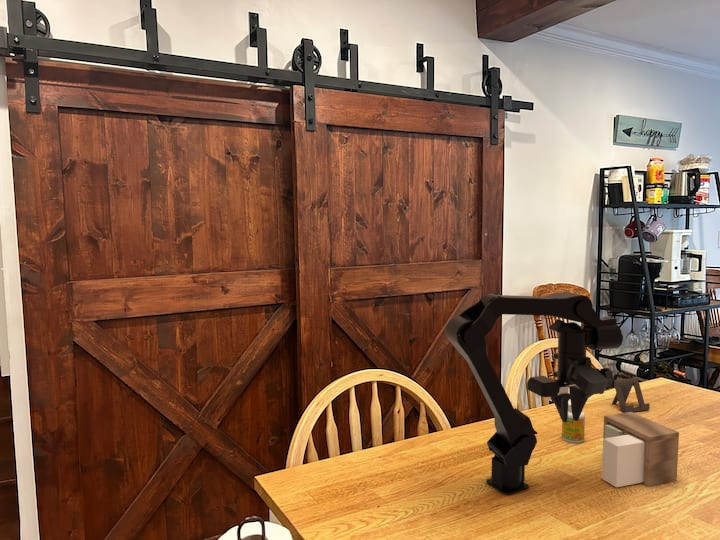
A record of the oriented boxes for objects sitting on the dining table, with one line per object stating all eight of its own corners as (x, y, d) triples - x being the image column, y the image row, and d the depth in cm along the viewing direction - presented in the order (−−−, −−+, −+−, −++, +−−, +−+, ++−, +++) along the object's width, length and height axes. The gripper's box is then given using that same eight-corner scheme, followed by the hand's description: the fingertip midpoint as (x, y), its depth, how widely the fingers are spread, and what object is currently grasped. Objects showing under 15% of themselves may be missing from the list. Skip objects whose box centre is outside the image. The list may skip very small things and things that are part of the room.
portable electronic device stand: (624, 414, 154) (625, 386, 154) (605, 405, 162) (606, 378, 161) (649, 411, 157) (650, 383, 156) (629, 402, 164) (631, 376, 163)
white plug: (616, 487, 111) (617, 446, 111) (601, 478, 115) (603, 438, 115) (660, 478, 115) (662, 438, 114) (644, 470, 119) (646, 431, 118)
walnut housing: (644, 487, 112) (646, 437, 111) (599, 461, 124) (600, 416, 123) (676, 480, 115) (679, 432, 114) (629, 455, 127) (631, 411, 126)
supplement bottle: (560, 441, 136) (561, 404, 135) (563, 433, 140) (564, 398, 140) (583, 445, 133) (584, 407, 132) (585, 437, 138) (586, 401, 137)
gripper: (560, 364, 103) (558, 441, 105) (636, 356, 109) (633, 429, 110) (526, 351, 114) (524, 421, 115) (596, 344, 119) (594, 411, 121)
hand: (569, 421), depth 115 cm, fingers open, 3 cm apart
